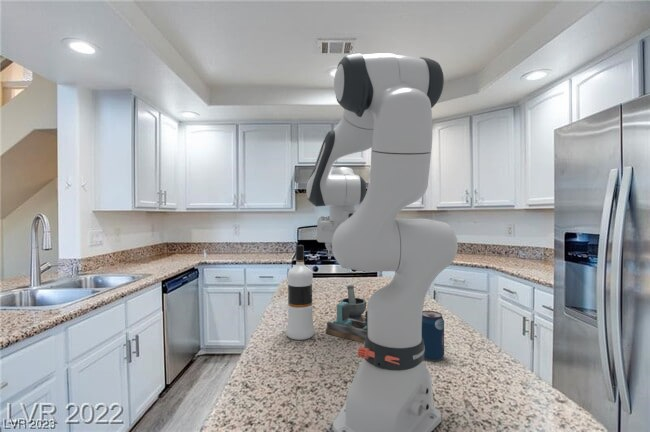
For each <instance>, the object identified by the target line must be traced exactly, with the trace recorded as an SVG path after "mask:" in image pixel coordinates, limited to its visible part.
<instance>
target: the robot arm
mask: <svg viewBox="0 0 650 432" xmlns="http://www.w3.org/2000/svg"><path fill="white" fill-rule="evenodd" d="M444 77H445V76H444V72H443V69H442V66H441V64H440V63H439V62H438V61H436V60H434V59H431V58H427V57H426V56H425V57H424V56H420V57H415V56H410V55H401V54H394V53H391V52H388V53H387V52H385V53H384V52H382V53H381V52H380V53H367V54H362V53H359V52H358V53H353V54H349V55H345V56H343V57H342V59H341V60H340V61H339V62H338V64H337V67H336V71H335V74H334V78H333V89H334V93H335V98H336V102H337V103H338V104H339V105H340V106H341V107H342V108H343V114H342V117H341V119H340V121H339V122H338V123H337V125H336V126H335V127H334V128H333V129H331V130H329V131H328V132H327V134H326V135H325V137H324V140H323V141H322V144H321V147H320V150H319V152H318V155H317V159H316V161H315V163H314V164H315V165H314V167H313V170H312V172H311V173H310V174H311V175H310V176H309V179H308V182H307V184H306V189H305V190H306V191H305V193H306V198H307V201H308V202H310V203H311V204H312V205H313V206H314V207H326V206H329V216H328V215H326V216H324V215H322V216H320V217H319V218H318V219H317V223H316V224H317V227H316V235H315V239H316V241H317V242H318V243H324V246H325V248H326V250H327V256H330V257H334V260H335V261H336V263H338V265H340V267H342V268H343V269H347V270H353V271H356V272H365V273H366V272H369V273H370V272H374V273H375V272H394V274H393V275H394V276H393V278H392V279H391V281H390V282H388V284H385V286H382V287H381V288H379V289H377V290H376V291H374V292H373V293H372V294H371V295H370V297H369V298H368V301H367V303H366V309H367V310H366V311H367V315H368V333H367V335H366V339H365V342H364V343H363V346H361V345H360V346H358V350H357V356H358V357H359V358H362V360H361V362H360V363H359V366H358V368H357V370H356V372H355V375H354V376H353V379H352V381H351V384H350V386H349V388H348V391H347V392H346V393H347V394H346V398H345V402H344V403H343V405H342V407H341V409H340V410H339V412H338V414H337V415H336V417H335V419H334V420H333V422H332V428H331V429H332V431H333V432H432V431H434V430H435V428H436V427H438V425H440V423H441V422H442V413H441V412H440V411H439V410H438V409H437V408H436V407H435V406H434V394H433V391H434V390H433V379H432V377H433V376H432V373H431V371H430V370H429V369H428V367H427V365H426V364H425V361H424V360H425V359H424V352H425V346H424V340H423V338H422V313H423V311H424V310H423V309H424V303H425V300H426V295H427V293H428V291H429V289H430V287H431V285H432V283H433V282H434V281H435V280H436V278H437V277H438V276H439V275H440V274H441V273H442V272H443V271H444V270H445V269H447V268H448V267H449V266H450V265H452V263H454V261H455V259H456V256H457V254H458V247H459V243H458V238H457V235H456V232H455V231H454V230H453V228H452V226H450V225H449V223H447V222H444V221H440V220H435V219H428V218H397V216H398V214H399V213H400V212H401V211H402V210H403V209H404V208H405V207H407V206H410V205H412V204H414V203H416V202H417V201H419V200H420V199H421V198H422V197H423V196H424V195H425V194H426V191H427V189H428V187H429V186H428V185H429V178H430V177H429V176H430V168H431V167H430V166H431V157H432V149H433V148H432V147H433V113H432V111H433V110H432V108H434V107H435V105H436V104H437V103H438V101H439V100H440V98H441V96H442V94H443V90H444V85H445V84H444V83H445V78H444ZM370 149H371V153H370V154H371V156H370V170H369V177H368V179H369V180H368V186H367V183H366V180H365V179H364V178H363V177H362V176H360V175H358V174H355V173H354V170H353V168H351V167H348V166H339V167H336V168H334V169H332V167H333V165H334V163H335V162H336V161H337V160H338V159H341V158H343V157H346V156H349V155H352V154H356V153H360V152H361V153H362V152H365V151H367V150H370ZM331 169H332V170H331ZM359 204H360V205H359ZM356 205H359V206H358V208H357V210H356Z"/></svg>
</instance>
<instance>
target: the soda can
mask: <svg viewBox="0 0 650 432" xmlns="http://www.w3.org/2000/svg"><path fill="white" fill-rule="evenodd" d="M422 338H423V340H424V346H425V352H424V360H427V361H430V362H436V361H441V360H442V358H443V357H444V355H445V319H444V318H443V314H442V313H441V312H439V311H435V310H423V313H422Z"/></svg>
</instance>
